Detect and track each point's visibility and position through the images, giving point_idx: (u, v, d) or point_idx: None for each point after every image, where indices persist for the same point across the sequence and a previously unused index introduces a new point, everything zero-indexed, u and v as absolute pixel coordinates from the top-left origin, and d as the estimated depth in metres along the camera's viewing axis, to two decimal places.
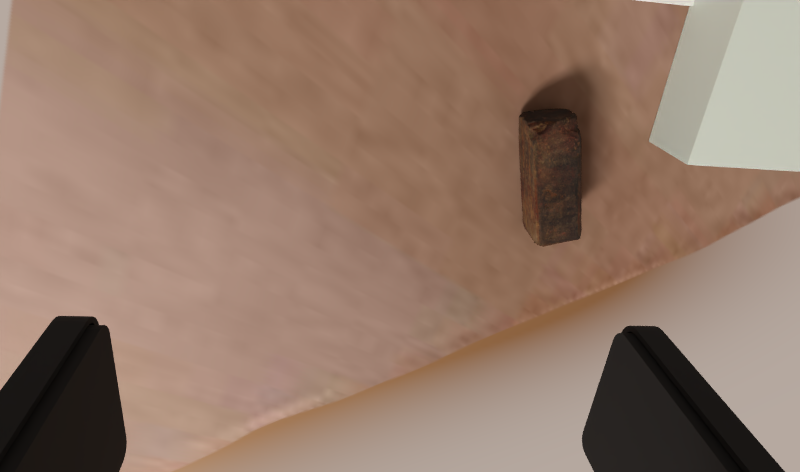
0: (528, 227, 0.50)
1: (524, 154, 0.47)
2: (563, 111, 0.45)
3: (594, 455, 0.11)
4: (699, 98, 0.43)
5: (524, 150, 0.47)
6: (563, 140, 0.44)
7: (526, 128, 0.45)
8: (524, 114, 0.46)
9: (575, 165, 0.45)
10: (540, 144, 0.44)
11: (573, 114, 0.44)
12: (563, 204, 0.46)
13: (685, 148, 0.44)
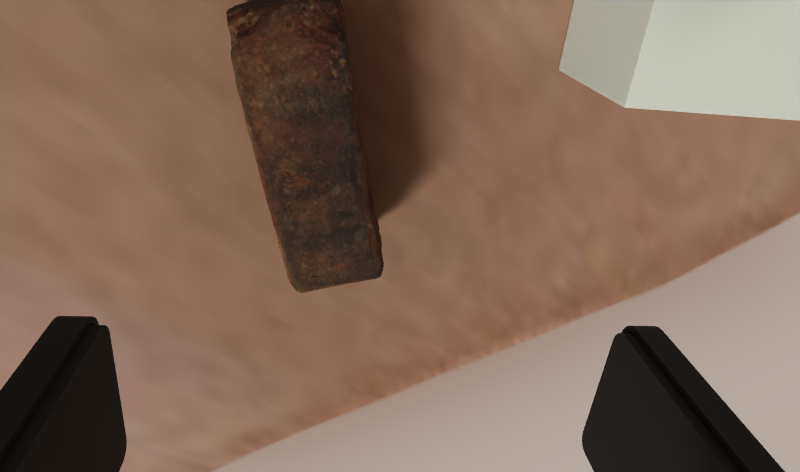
0: None
1: None
2: None
3: (594, 455, 0.11)
4: None
5: None
6: (300, 51, 0.18)
7: None
8: (245, 3, 0.21)
9: (341, 115, 0.19)
10: (245, 61, 0.18)
11: None
12: (329, 204, 0.21)
13: (622, 70, 0.19)
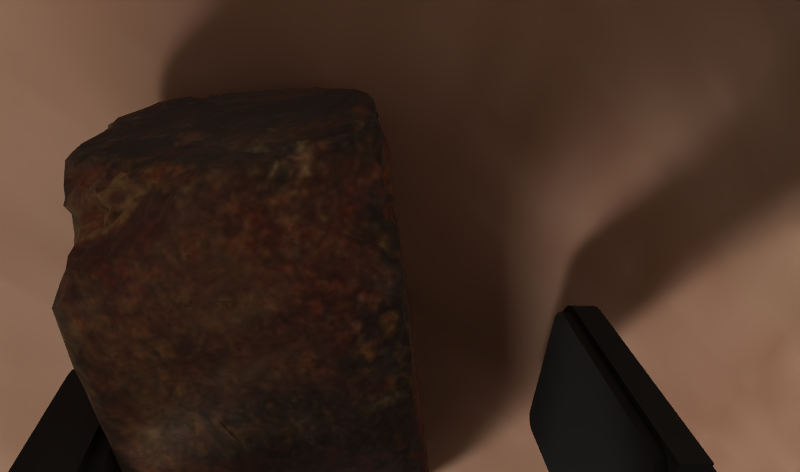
0: None
1: None
2: (331, 101, 0.08)
3: (538, 431, 0.12)
4: None
5: None
6: (268, 304, 0.06)
7: None
8: (143, 111, 0.08)
9: (379, 444, 0.07)
10: (96, 332, 0.06)
11: (363, 122, 0.07)
12: None
13: None
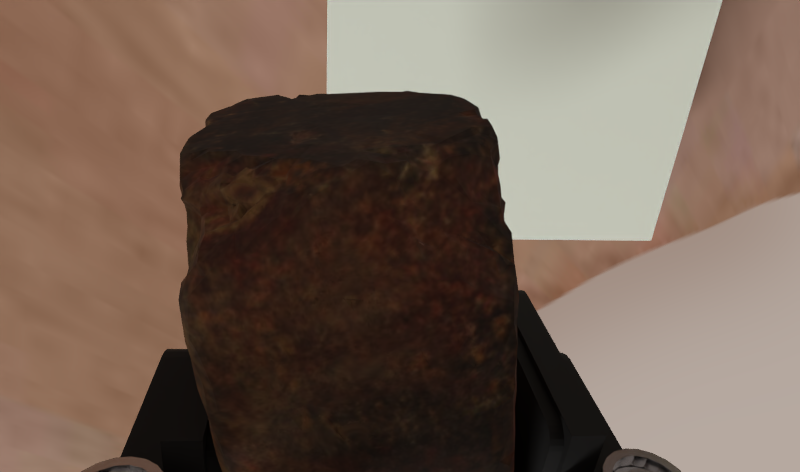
0: None
1: None
2: (434, 106, 0.08)
3: None
4: None
5: None
6: (391, 303, 0.06)
7: None
8: (236, 108, 0.09)
9: (477, 446, 0.07)
10: (221, 325, 0.06)
11: (480, 127, 0.07)
12: None
13: None
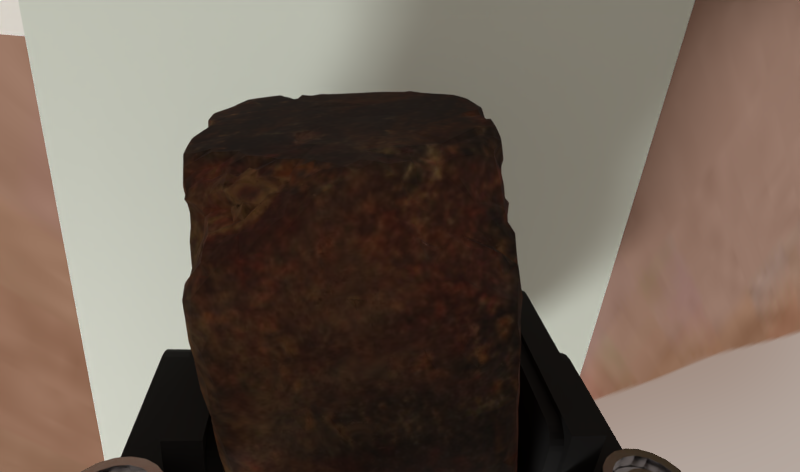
0: None
1: None
2: (437, 106, 0.08)
3: None
4: None
5: None
6: (395, 303, 0.06)
7: None
8: (238, 108, 0.09)
9: (480, 447, 0.07)
10: (225, 325, 0.06)
11: (484, 127, 0.07)
12: None
13: None
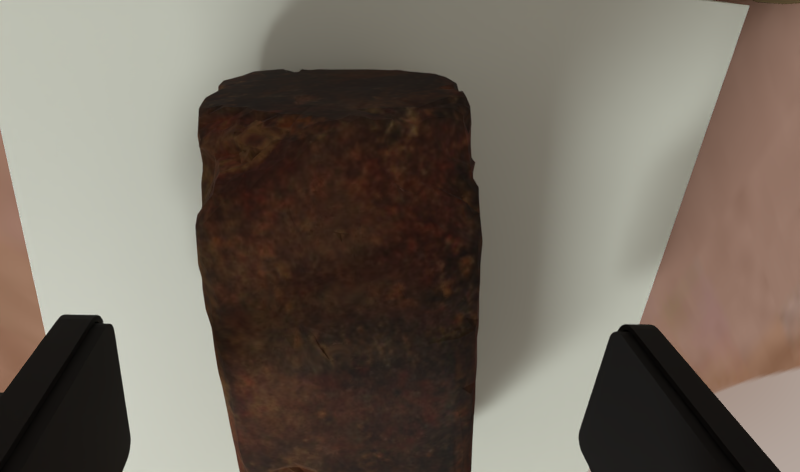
0: None
1: None
2: (419, 81, 0.09)
3: (590, 453, 0.11)
4: None
5: None
6: (374, 238, 0.07)
7: None
8: (245, 77, 0.10)
9: (442, 372, 0.08)
10: (230, 250, 0.07)
11: (456, 97, 0.08)
12: None
13: None
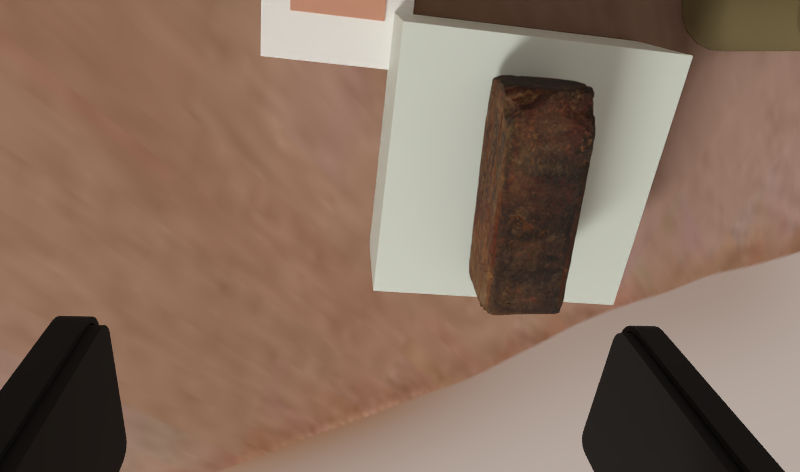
0: (475, 276, 0.29)
1: (489, 147, 0.26)
2: (571, 82, 0.25)
3: (594, 455, 0.11)
4: (381, 200, 0.30)
5: (491, 140, 0.26)
6: (564, 128, 0.23)
7: (501, 97, 0.24)
8: (502, 77, 0.26)
9: (576, 181, 0.24)
10: (521, 127, 0.23)
11: (589, 88, 0.24)
12: (542, 248, 0.26)
13: (374, 267, 0.31)
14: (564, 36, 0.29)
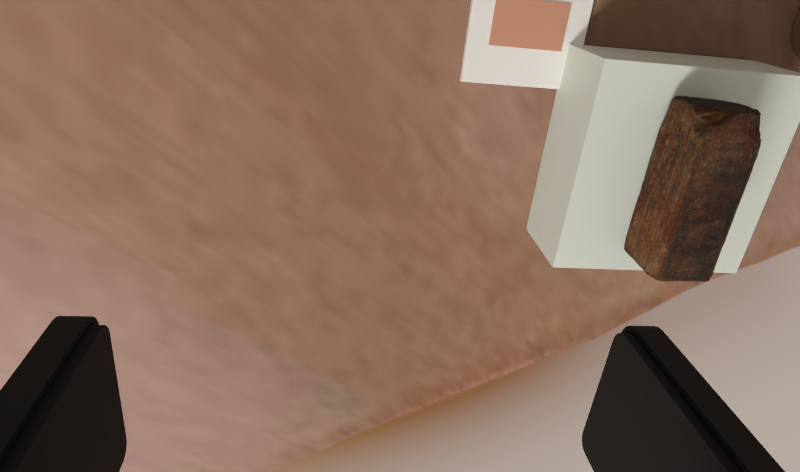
0: (637, 252, 0.37)
1: (667, 151, 0.34)
2: (737, 104, 0.33)
3: (594, 455, 0.11)
4: (562, 195, 0.38)
5: (669, 146, 0.34)
6: (741, 140, 0.31)
7: (689, 115, 0.32)
8: (681, 97, 0.34)
9: (742, 180, 0.32)
10: (710, 139, 0.31)
11: (756, 110, 0.32)
12: (708, 230, 0.33)
13: (552, 248, 0.39)
14: (711, 62, 0.36)
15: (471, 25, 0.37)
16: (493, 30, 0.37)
